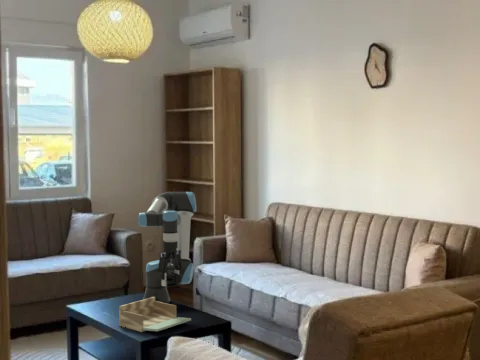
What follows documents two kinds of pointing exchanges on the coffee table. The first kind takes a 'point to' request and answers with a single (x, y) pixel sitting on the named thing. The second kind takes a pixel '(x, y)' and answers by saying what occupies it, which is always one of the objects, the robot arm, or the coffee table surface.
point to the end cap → (172, 279)
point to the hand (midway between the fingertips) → (170, 284)
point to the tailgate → (166, 324)
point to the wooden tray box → (145, 313)
